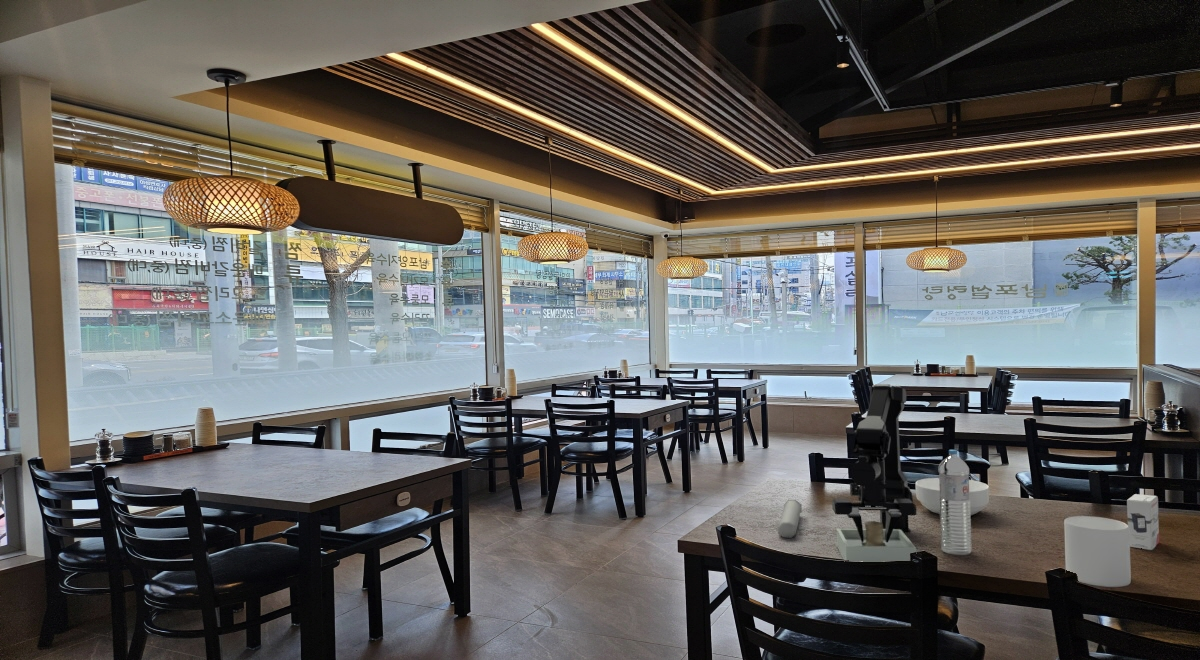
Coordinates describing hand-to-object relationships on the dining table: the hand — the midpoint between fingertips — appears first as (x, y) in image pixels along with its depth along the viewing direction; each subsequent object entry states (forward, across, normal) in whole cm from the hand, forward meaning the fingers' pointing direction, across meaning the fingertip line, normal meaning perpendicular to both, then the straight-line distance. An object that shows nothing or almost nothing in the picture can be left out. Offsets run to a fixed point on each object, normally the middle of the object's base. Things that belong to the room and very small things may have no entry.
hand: (874, 541), depth 179 cm
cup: (+4, -44, +12) cm, 46 cm away
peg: (+4, 0, 0) cm, 4 cm away
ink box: (+4, -66, -14) cm, 68 cm away
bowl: (+4, -30, -44) cm, 53 cm away
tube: (+4, +18, -26) cm, 32 cm away
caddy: (+4, 0, 0) cm, 4 cm away
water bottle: (+4, -20, -5) cm, 21 cm away
